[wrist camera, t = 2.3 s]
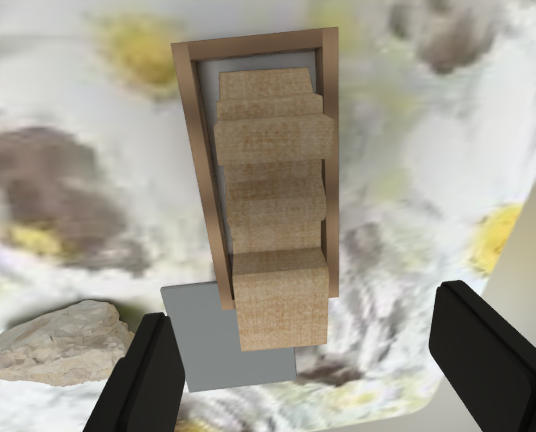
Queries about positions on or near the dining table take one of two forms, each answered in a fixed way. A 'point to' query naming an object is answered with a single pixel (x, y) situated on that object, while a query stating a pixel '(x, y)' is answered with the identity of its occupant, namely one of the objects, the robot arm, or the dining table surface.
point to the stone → (66, 345)
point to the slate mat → (218, 342)
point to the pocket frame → (191, 97)
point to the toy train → (275, 204)
